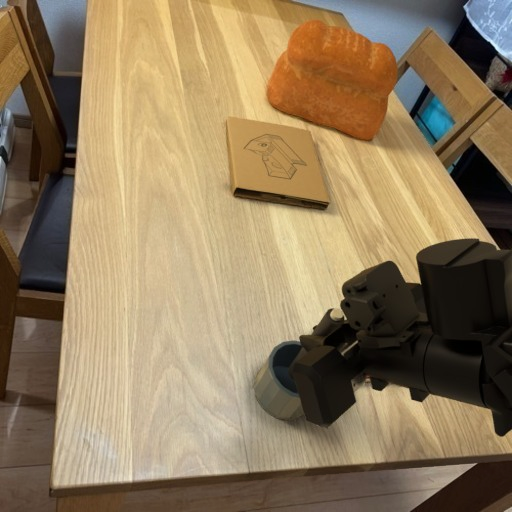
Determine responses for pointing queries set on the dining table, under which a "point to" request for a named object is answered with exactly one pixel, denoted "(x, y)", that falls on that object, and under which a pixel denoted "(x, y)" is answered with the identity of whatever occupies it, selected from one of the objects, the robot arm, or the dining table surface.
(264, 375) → the pen cup
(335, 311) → the stylus
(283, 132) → the box
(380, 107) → the bread
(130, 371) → the dining table surface
